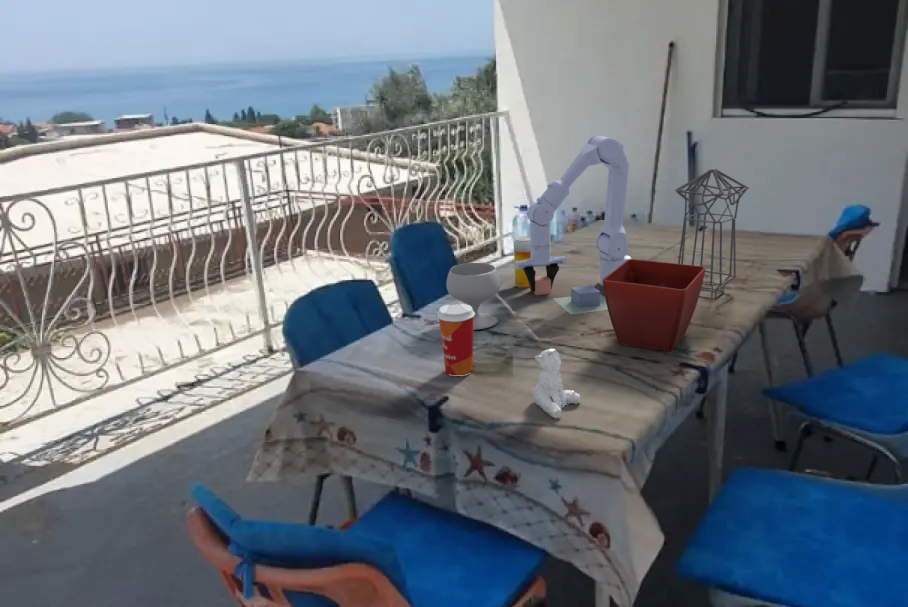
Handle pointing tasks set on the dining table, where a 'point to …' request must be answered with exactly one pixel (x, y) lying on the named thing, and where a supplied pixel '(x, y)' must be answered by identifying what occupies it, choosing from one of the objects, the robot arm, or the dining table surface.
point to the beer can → (521, 253)
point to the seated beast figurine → (552, 385)
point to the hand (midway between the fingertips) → (541, 289)
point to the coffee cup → (457, 337)
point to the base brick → (585, 296)
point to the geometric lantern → (696, 181)
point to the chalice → (474, 289)
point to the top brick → (542, 285)
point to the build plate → (573, 309)
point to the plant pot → (652, 302)
